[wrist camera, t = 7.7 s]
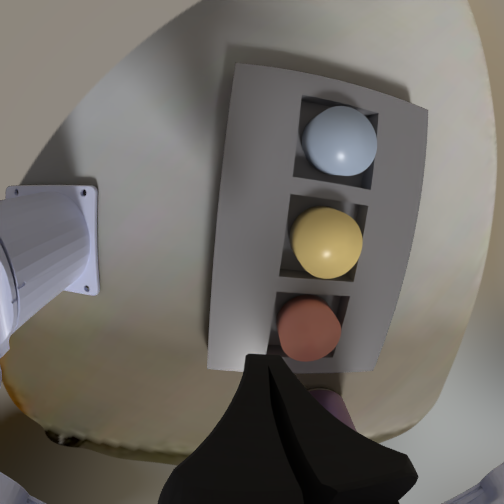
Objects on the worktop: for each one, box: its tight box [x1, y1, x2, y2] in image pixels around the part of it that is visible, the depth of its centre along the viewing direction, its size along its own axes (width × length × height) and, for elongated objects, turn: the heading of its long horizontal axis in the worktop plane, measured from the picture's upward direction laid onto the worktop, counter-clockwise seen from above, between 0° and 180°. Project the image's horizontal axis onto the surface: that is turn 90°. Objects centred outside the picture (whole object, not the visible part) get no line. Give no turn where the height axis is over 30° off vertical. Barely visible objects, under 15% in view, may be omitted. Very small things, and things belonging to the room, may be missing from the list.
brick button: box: [276, 295, 341, 362], centre depth 19 cm, size 4×4×2 cm
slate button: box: [302, 106, 377, 176], centre depth 15 cm, size 4×4×2 cm
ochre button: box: [290, 206, 362, 279], centre depth 17 cm, size 4×4×2 cm
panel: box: [207, 63, 428, 373], centre depth 18 cm, size 13×20×2 cm, turn 174°
